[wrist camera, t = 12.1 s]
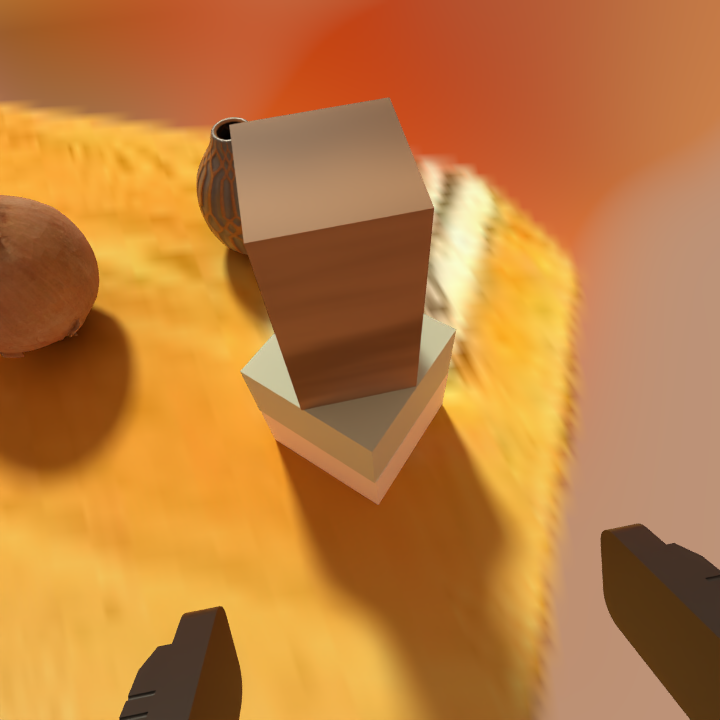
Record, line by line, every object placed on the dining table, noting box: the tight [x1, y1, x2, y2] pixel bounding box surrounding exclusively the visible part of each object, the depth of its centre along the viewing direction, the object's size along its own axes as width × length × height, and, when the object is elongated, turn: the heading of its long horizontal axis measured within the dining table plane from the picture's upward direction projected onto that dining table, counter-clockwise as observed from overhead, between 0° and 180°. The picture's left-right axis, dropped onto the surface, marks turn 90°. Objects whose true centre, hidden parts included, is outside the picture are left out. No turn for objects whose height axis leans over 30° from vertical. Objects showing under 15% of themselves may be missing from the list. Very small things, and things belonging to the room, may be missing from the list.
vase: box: [197, 117, 248, 255], centre depth 34 cm, size 7×7×9 cm
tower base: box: [261, 373, 448, 505], centre depth 28 cm, size 7×7×4 cm
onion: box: [0, 195, 99, 358], centre depth 30 cm, size 10×9×10 cm
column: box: [229, 98, 434, 410], centre depth 19 cm, size 5×5×10 cm
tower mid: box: [240, 314, 456, 483], centre depth 25 cm, size 7×7×4 cm
